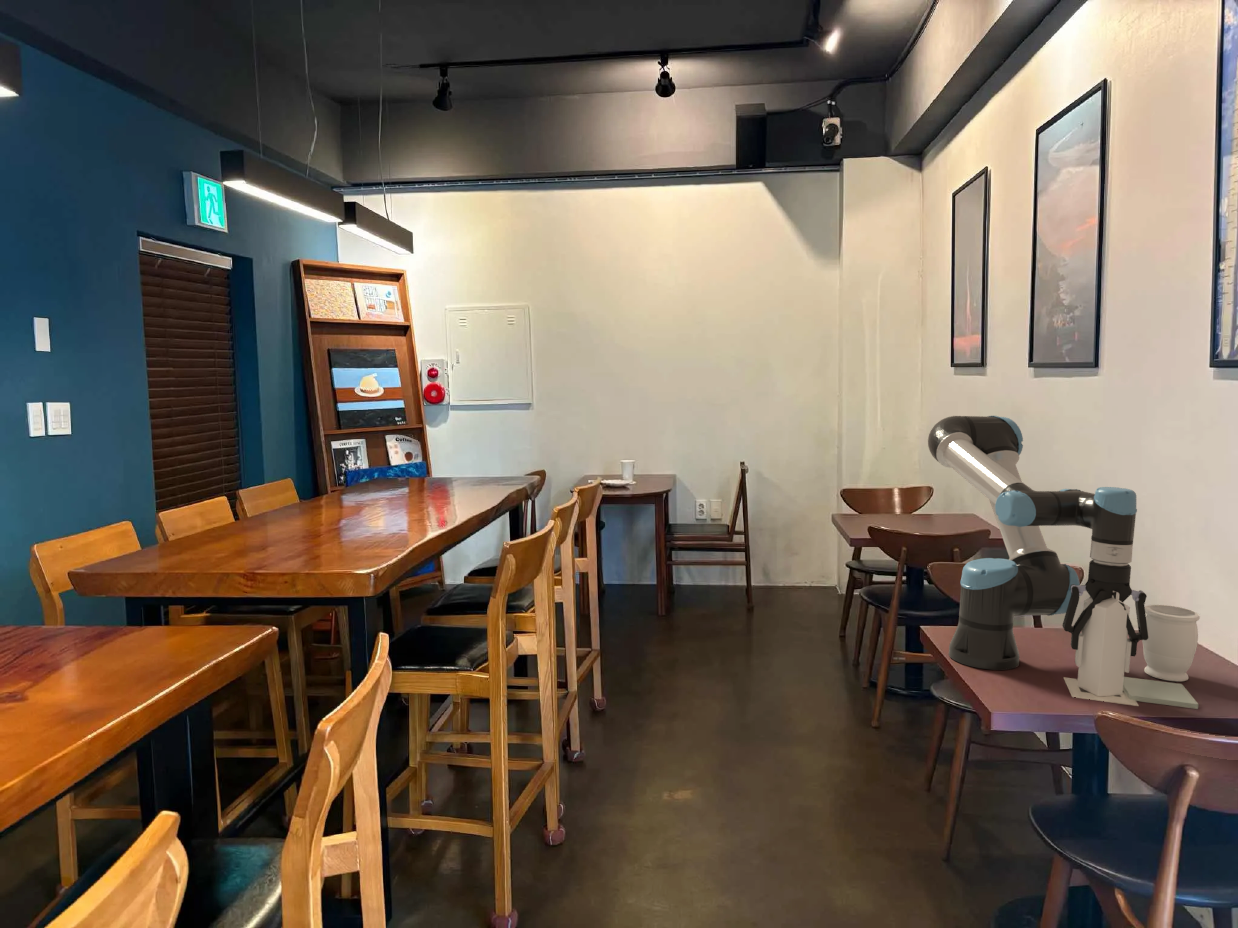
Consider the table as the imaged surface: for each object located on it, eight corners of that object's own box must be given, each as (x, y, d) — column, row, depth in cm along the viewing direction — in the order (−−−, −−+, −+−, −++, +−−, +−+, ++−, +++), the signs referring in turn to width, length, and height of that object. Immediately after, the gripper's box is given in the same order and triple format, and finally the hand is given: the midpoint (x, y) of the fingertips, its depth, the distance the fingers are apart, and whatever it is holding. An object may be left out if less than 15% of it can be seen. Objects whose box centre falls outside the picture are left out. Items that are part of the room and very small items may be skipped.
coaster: (1129, 699, 171) (1130, 695, 171) (1117, 680, 183) (1117, 675, 182) (1198, 708, 167) (1198, 704, 167) (1181, 688, 178) (1181, 683, 178)
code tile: (1071, 701, 172) (1072, 696, 172) (1063, 681, 184) (1063, 676, 184) (1138, 710, 168) (1138, 705, 168) (1125, 689, 179) (1125, 684, 179)
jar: (1195, 687, 179) (1201, 620, 177) (1138, 677, 184) (1144, 612, 183) (1192, 673, 188) (1198, 608, 186) (1138, 664, 193) (1144, 601, 192)
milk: (1100, 684, 179) (1109, 584, 177) (1122, 695, 174) (1132, 592, 171) (1076, 686, 178) (1084, 585, 176) (1098, 696, 172) (1107, 593, 170)
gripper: (1056, 560, 173) (1048, 665, 175) (1173, 570, 166) (1163, 680, 168) (1051, 553, 180) (1043, 655, 182) (1164, 562, 173) (1154, 668, 175)
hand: (1101, 667), depth 175 cm, fingers closed on milk, 8 cm apart
